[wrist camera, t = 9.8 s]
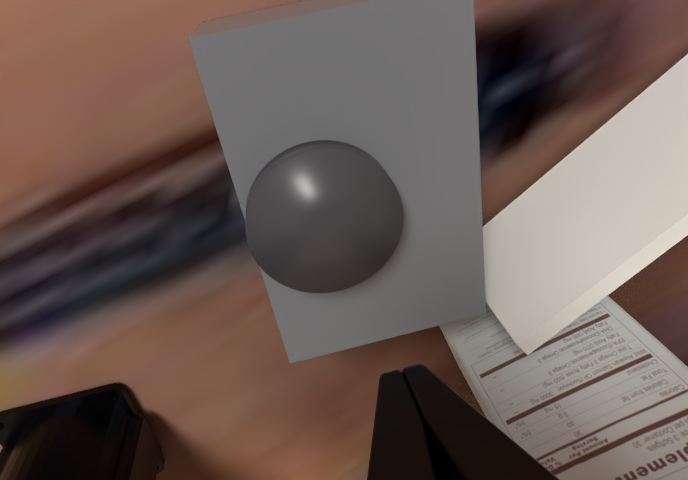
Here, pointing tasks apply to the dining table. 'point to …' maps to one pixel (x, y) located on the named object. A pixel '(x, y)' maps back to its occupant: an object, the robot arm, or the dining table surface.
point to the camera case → (353, 162)
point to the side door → (592, 217)
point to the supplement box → (582, 394)
